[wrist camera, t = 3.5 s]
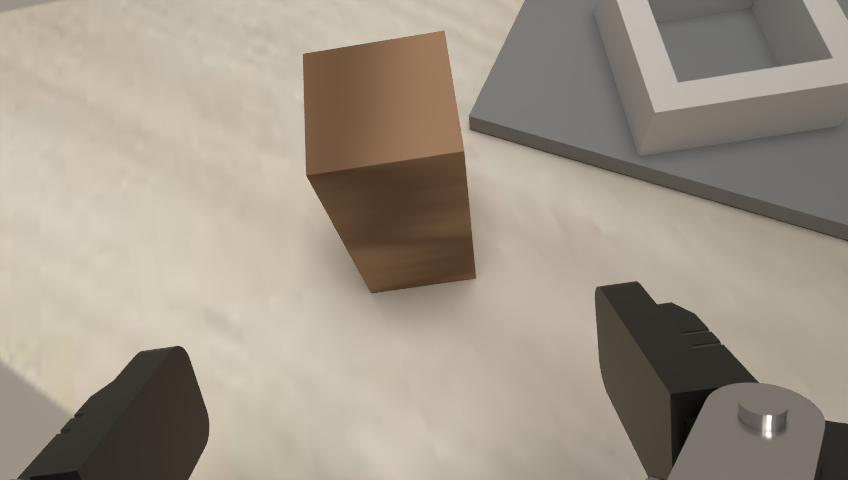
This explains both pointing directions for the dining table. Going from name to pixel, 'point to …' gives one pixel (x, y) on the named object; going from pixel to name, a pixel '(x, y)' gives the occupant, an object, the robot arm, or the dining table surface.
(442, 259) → the walnut peg
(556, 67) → the socket plate
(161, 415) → the robot arm
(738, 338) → the dining table surface
